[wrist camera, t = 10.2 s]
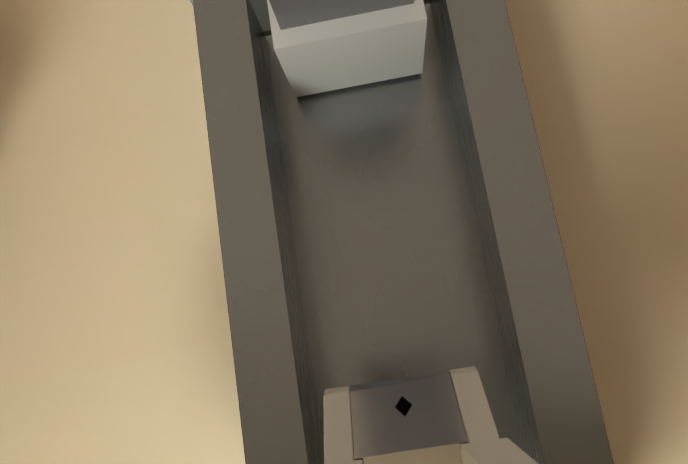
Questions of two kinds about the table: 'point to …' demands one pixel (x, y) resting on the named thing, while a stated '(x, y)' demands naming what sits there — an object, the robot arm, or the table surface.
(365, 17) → the tall gray pillar
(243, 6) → the slot bed
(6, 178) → the table surface
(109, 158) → the table surface
